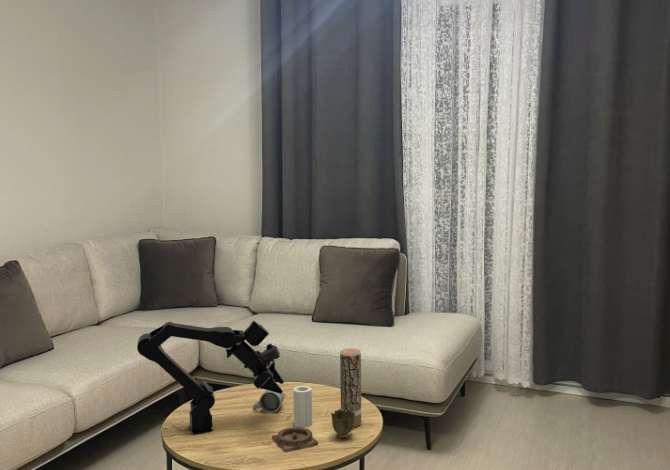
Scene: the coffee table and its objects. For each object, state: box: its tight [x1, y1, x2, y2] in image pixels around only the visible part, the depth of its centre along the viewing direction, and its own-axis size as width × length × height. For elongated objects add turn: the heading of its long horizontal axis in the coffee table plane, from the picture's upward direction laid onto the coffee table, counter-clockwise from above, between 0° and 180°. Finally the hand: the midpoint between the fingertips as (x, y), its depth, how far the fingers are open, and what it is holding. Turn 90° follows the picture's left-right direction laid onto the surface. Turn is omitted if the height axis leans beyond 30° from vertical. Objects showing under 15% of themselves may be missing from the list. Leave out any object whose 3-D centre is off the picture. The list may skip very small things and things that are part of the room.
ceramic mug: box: [252, 389, 285, 414], centre depth 240 cm, size 11×8×8 cm
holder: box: [271, 426, 319, 453], centre depth 212 cm, size 11×11×3 cm
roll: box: [292, 385, 313, 428], centre depth 226 cm, size 6×6×12 cm
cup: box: [330, 408, 355, 440], centre depth 215 cm, size 8×7×8 cm
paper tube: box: [339, 348, 362, 428], centre depth 224 cm, size 7×7×25 cm
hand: (282, 387), depth 225 cm, fingers open, 9 cm apart
